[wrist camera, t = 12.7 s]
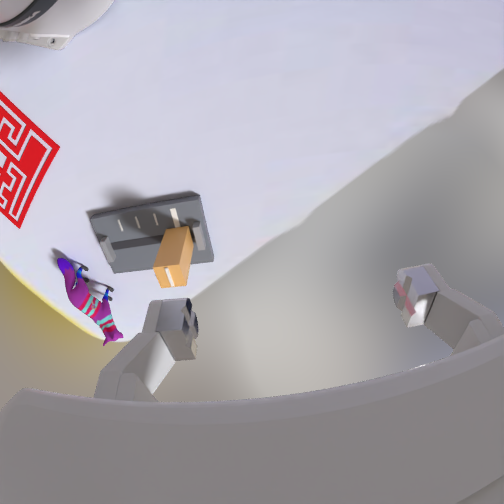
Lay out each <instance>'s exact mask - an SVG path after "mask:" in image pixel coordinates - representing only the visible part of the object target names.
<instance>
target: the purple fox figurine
mask: <svg viewBox="0 0 504 504" xmlns="http://www.w3.org/2000/svg"><path fill="white" fill-rule="evenodd" d="M57 263H58V266H59V269H60V270H61V272H62V274H63V275H64V278H65V287H66V292H67V294H68V298H69V300H70V302H71V303H72V304H73V305H74V306H75V307H76V308H78V309H79V310H80V311H82V312H83V313H84V314H86V315H87V316H89V317H90V318H92V319H93V320H94V322H95V323H96V324H97V325H99V326H100V328H101V329H102V331H103V333H104V335H105V337H106V339H105V341H104V343H103V346H104V345H105V344H106V343H107V342H109V341H116V340H117V339H118V338H123V334H122V333H121V332H119V331H118V330H117V328H116V326H115V324H114V321H113V318H112V315H111V310H110V306H109V303H108V300H109V301H112V298H111V297H109V296H108V292H109V290H110V291H111V292H113V291H114V289H113V288H111V287H108V288H107V290H106V292H105V295H104V297H103V299H102V301H103V302H102V303H101V302H100V301H99V300H98V299H97V298H95V297H93V296H92V295H91V294H90V293H89V290H88V287H87V285H86V283H85V282H88V279H86V278H82V276H81V272H82V269H84V270H85V271H88V268H87V267H85V266H81V267H80V268H79V269H78V271H77V273H76V275H77V279H78V282H77V283H76V287H75V288H74V289H72V288H73V286H74V284H75V279H76V277H75V272H74V269H73V267H72V265H71V264H70V263H69V262H68V261H67V260H65V259H63V258H58V260H57ZM84 281H85V282H84Z"/></svg>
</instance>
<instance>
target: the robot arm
mask: <svg viewBox="0 0 504 504" xmlns="http://www.w3.org/2000/svg"><path fill="white" fill-rule="evenodd" d="M113 2H114V0H0V39H3V41H4V42H21V43H26V44H31V45H36V46H40V47H45V48H49V49H53V50H62V49H64V48H65V47H66V46H67V45H68V44H69V43H70V41H71V40H72V39H73V38H74V36H75V35H76V34H78V33H79V32H80V31H82V30H84V29H85V28H87V27H89V26H90V25H92V24H93V23H94V22H96V21H97V20H98V19H99V18H100V17H101V16H102V15H103V14H104V13H105V12H106V11H107V10H108V9H109V7H110V6H111V5H112V3H113ZM54 39H55V42H54V43H53V40H54ZM397 279H398V282H397V283H396V284H395V285H394V289H393V299H394V302H395V305H396V307H397V308H399V309H400V310H402V314H401V317H402V319H403V321H404V323H405V325H406V327H407V328H408V327H413V326H417V325H422V324H424V325H425V326H426V327H427V328H429V329H430V330H431V331H432V332H434V333H435V334H436V335H437V336H438V337H440V338H441V339H442V340H443V341H445V342H446V343H447V344H448V345H449V346H450V347H452V348H453V349H454V350H453V352H452V354H451V355H450V356H449V357H446V358H443V359H440V360H437V361H434V362H431V363H429V364H425V365H422V366H419V367H416V368H412V369H408V370H405V371H402V372H398V373H395V374H391V375H387V376H383V377H379V378H375V379H371V380H366V381H362V382H358V383H353V384H348V385H344V386H339V387H333V388H328V389H323V390H316V391H310V392H304V393H298V394H290V395H282V396H274V397H265V398H255V399H244V400H230V401H211V402H158V401H157V400H156V398H155V397H154V396H153V395H152V394H153V393H154V391H155V390H156V388H157V387H158V386H159V384H160V383H161V381H162V380H163V378H164V377H165V376H166V374H167V373H168V372H169V370H170V369H171V367H172V366H173V365H174V363H175V361H180V360H193V359H196V353H197V344H196V341H195V339H196V338H197V337H198V321H197V317H196V314H195V312H193V311H192V303H191V301H190V299H189V298H179V299H165V300H153V301H151V302H150V304H149V307H148V311H147V315H146V318H145V322H144V326H143V330H142V333H138V334H137V335H136V336H135V337H134V338H133V339H132V340H131V341H130V342H129V343H128V344H127V345H126V346H125V347H124V348H123V349H122V350H121V351H120V352H119V353H118V354H117V355H116V356H115V357H114V358H113V359H112V360H111V361H110V362H109V363H108V364H107V365H106V366H105V367H104V368H103V369H102V370H101V372H100V376H99V380H98V383H97V386H96V390H95V394H94V398H90V397H81V396H74V395H67V394H60V393H54V392H48V391H43V390H37V389H32V388H23V389H21V390H20V391H19V392H17V393H16V394H15V395H14V396H13V397H12V398H11V399H10V400H9V401H8V402H7V403H6V405H5V406H4V407H3V408H2V409H1V412H0V504H504V327H503V325H502V324H501V322H500V320H499V319H498V317H497V316H496V314H495V313H494V312H493V311H491V310H490V309H488V308H486V307H484V306H483V305H481V304H480V303H478V302H476V301H474V300H473V299H471V298H469V297H467V296H466V295H464V294H462V293H460V292H459V291H457V290H455V289H453V288H452V289H450V288H449V287H448V285H447V283H446V282H445V281H444V279H443V278H442V276H441V275H440V274H439V272H438V271H437V269H436V268H435V267H434V265H433V264H431V263H429V264H424V265H420V266H413V267H408V268H403V269H400V270H399V271H398V273H397Z"/></svg>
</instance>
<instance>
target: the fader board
mask: <svg viewBox="0 0 504 504" xmlns="http://www.w3.org/2000/svg"><path fill="white" fill-rule="evenodd" d="M90 221H91V223H92V226H93V228H94V231H95V233H96V235H97V238H98V240H99V243H100V245H101V247H102V249H103V252H104V254H105V256H106V258H107V260H108V262H109V264H110V266H111V268H112V270H113V272H114V274H115V273H123V272H132V271H140V270H148V269H153V266H154V263H155V260H156V257H157V254H158V251H159V248H160V245H161V242H162V239H163V236H164V233H165V231H166V229H170V228H177V227H184V226H189V230H190V233H191V237H192V241H193V244H194V247H193V252H192V257H191V263H190V264H198V263H206V262H213V261H214V254H213V250H212V246H211V241H210V237H209V233H208V229H207V225H206V220H205V216H204V212H203V207H202V203H201V198H200V195H197V196H191V197H185V198H179V199H173V200H167V201H162V202H156V203H150V204H145V205H140V206H135V207H129V208H124V209H119V210H115V211H110V212H105V213H100V214H96V215H93V216H92V218H91V219H90Z"/></svg>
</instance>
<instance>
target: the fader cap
mask: <svg viewBox="0 0 504 504" xmlns="http://www.w3.org/2000/svg"><path fill="white" fill-rule="evenodd" d="M193 247H194V244H193V241H192V237H191V233H190V230H189V226H184V227H177V228H170V229H166V231H165V233H164V236H163V239H162V242H161V245H160V248H159V251H158V254H157V257H156V260H155V263H154V266H153V269H154V272H155V274H156V277H157V279H158V282H159V284H160V286H161V288H168V287H177V286H186V285H187V279H188V274H189V268H190V263H191V257H192V252H193Z"/></svg>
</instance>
